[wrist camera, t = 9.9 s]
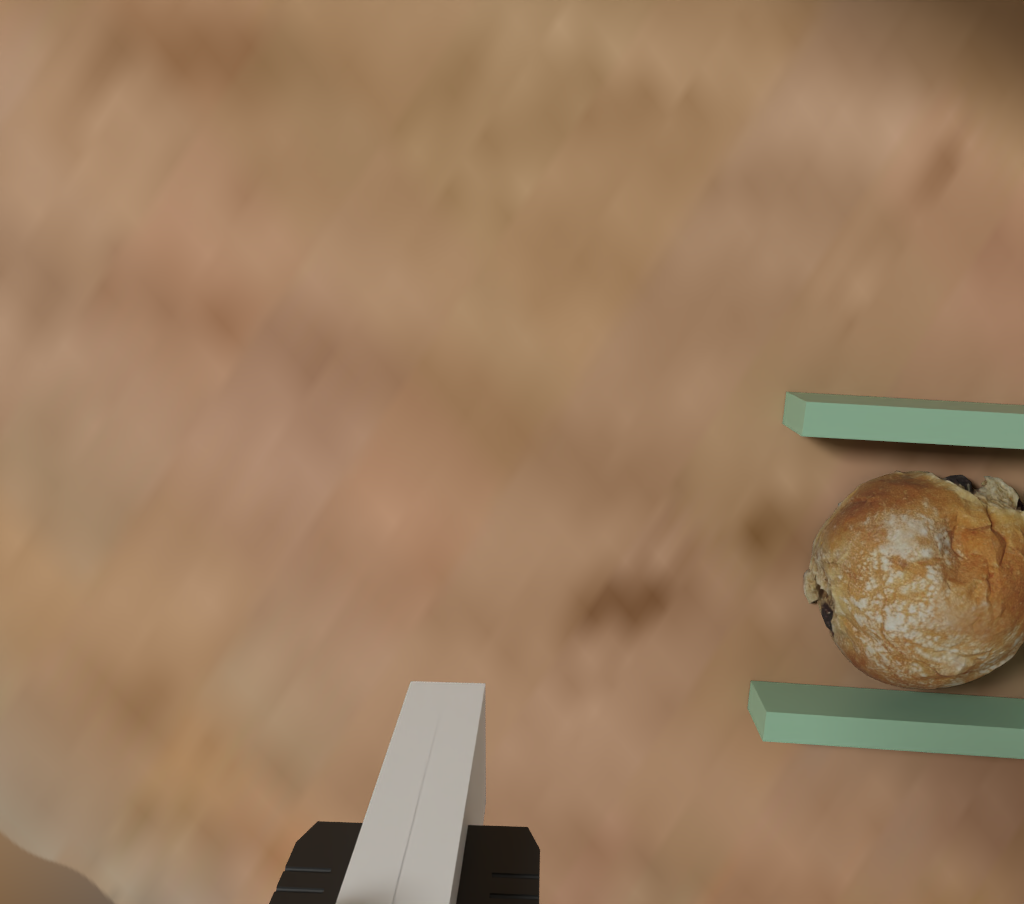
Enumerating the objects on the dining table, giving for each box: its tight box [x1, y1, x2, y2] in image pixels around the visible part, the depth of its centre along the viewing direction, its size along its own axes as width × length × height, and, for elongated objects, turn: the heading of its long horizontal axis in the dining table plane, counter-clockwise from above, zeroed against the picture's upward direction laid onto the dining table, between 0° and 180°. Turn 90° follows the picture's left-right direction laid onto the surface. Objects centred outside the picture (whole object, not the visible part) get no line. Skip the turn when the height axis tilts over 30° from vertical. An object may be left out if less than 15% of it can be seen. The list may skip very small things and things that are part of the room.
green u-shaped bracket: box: [748, 392, 1024, 759], centre depth 32 cm, size 16×15×17 cm
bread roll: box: [804, 471, 1024, 689], centre depth 38 cm, size 10×10×8 cm
